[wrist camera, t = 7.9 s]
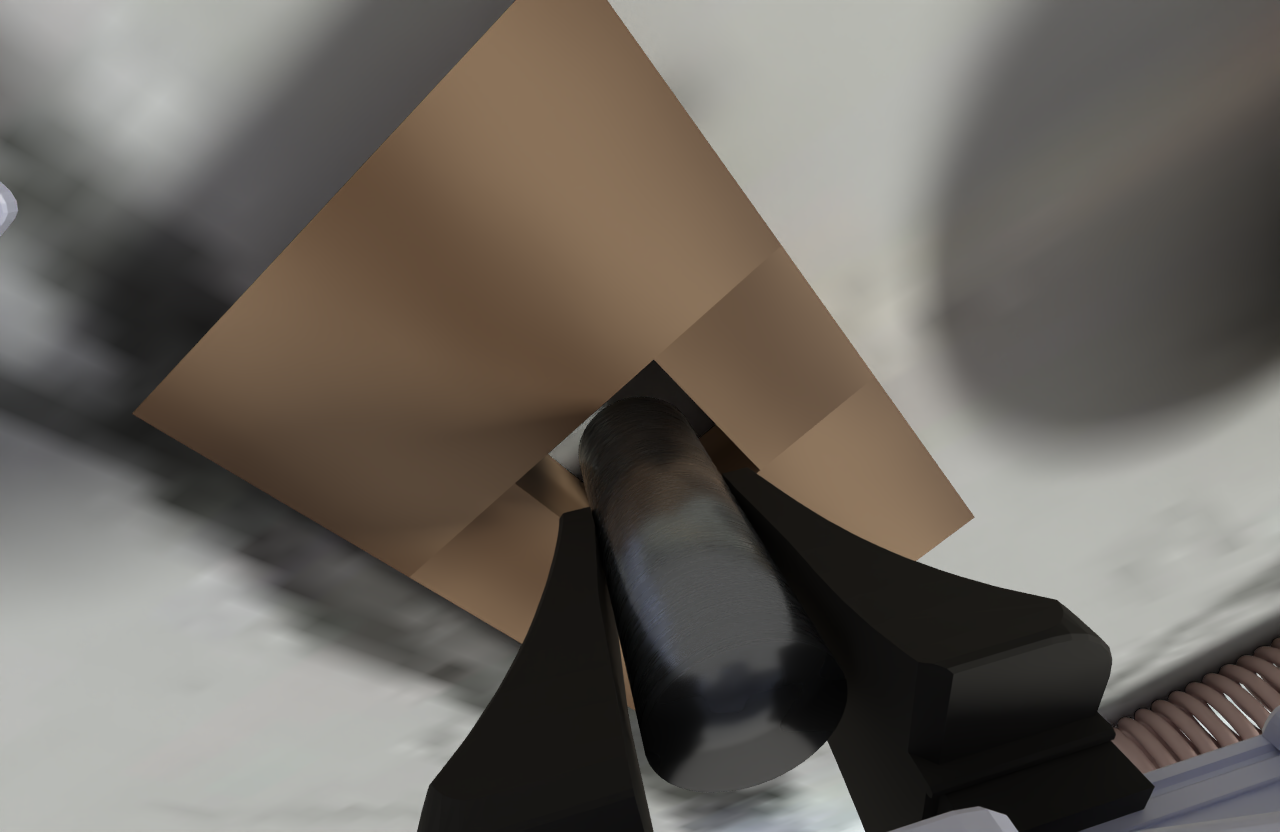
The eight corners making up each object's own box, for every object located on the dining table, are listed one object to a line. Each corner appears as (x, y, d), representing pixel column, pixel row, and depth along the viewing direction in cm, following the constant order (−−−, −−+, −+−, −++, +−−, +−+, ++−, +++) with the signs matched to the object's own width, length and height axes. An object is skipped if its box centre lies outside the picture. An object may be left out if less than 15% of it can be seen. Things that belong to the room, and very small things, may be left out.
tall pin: (593, 512, 16) (664, 816, 9) (565, 415, 15) (623, 683, 8) (700, 481, 16) (851, 753, 9) (683, 383, 15) (843, 614, 8)
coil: (1156, 844, 31) (1485, 679, 30) (1163, 817, 29) (1525, 635, 28) (1080, 755, 35) (1370, 606, 34) (1080, 724, 32) (1396, 561, 31)
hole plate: (659, 665, 23) (680, 736, 21) (196, 357, 15) (131, 413, 12) (915, 465, 21) (974, 517, 19) (552, -25, 13) (567, -56, 10)
